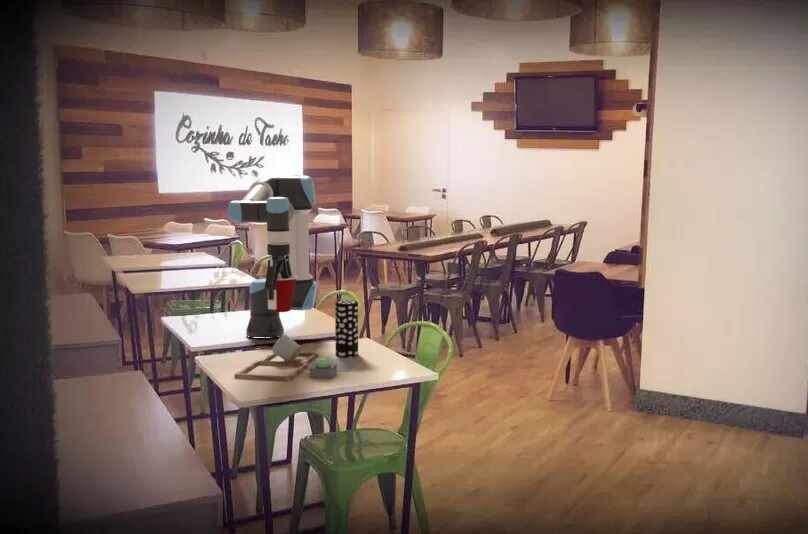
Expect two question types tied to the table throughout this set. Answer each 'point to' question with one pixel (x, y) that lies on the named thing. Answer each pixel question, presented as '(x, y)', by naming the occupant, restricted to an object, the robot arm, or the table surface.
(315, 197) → the robot arm
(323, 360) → the button
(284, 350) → the ceramic mug
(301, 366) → the wooden rectangular frame
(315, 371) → the button base
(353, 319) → the white-spotted black cylinder
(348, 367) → the mat
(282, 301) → the plastic cup
